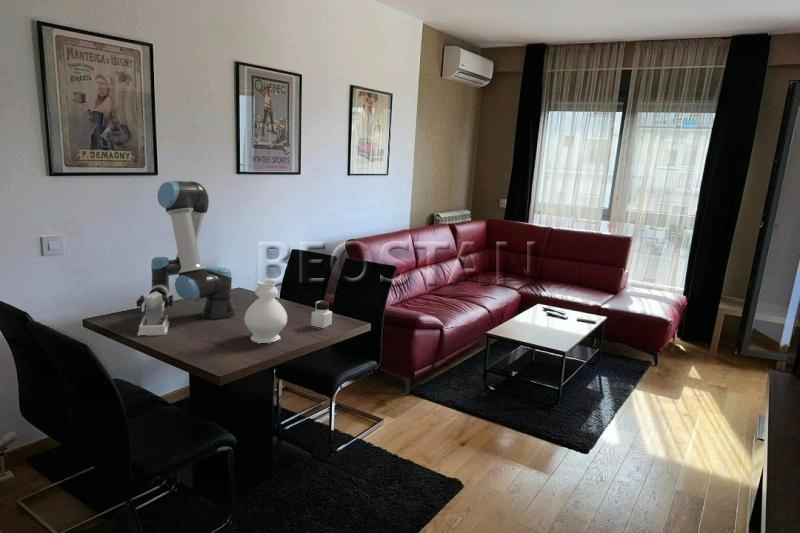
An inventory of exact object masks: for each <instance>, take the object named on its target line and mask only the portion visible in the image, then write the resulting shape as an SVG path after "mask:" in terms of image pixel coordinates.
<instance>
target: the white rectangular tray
mask: <svg viewBox="0 0 800 533" xmlns="http://www.w3.org/2000/svg"><path fill="white" fill-rule="evenodd" d="M168 316H169V315H168V314H165V315H164V318H161V325H156V326H147V316H146V314H145V315H143V317H142V319H141V321H140V324H139V326H138V332H137V336H138V337H139V336H140V335H147V336H167V334H168V330H169V327H170V321H168V320H169V317H168Z"/></svg>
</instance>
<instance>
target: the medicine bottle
mask: <svg viewBox="0 0 800 533" xmlns="http://www.w3.org/2000/svg"><path fill="white" fill-rule="evenodd" d="M329 304H330V303H329V301H326V300H318V301H316V302H315V310H314V311H312V312H311V316H310V317H311V320H310V321H311V322H310V326H311V325H312V326H316V327H321V328H325V327H327V326H329V325H331V324H332V322H333V321H332V320H333V311H331V310H329V308H330V305H329ZM332 325H333V324H332ZM332 325H331V326H332ZM316 327H315V328H316ZM327 328H328V327H327ZM325 329H326V328H325Z"/></svg>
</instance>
